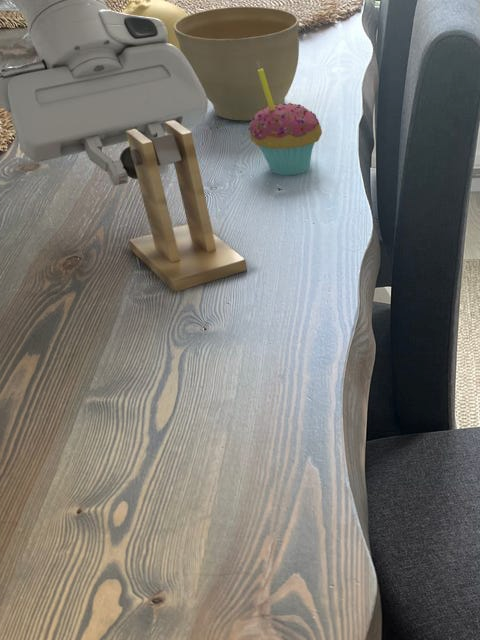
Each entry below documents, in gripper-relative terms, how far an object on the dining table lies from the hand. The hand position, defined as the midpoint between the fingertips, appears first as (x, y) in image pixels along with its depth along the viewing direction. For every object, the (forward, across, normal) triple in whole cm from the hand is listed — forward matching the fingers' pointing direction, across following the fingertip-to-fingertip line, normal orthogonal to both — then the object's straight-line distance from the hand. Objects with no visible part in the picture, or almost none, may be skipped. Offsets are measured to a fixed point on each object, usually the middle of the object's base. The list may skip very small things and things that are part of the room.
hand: (142, 176), depth 107 cm
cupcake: (-1, +20, +10) cm, 23 cm away
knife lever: (+2, 0, -4) cm, 5 cm away
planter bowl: (-17, +26, +25) cm, 40 cm away
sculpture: (-31, +22, +40) cm, 55 cm away
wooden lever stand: (+11, 0, -2) cm, 11 cm away
